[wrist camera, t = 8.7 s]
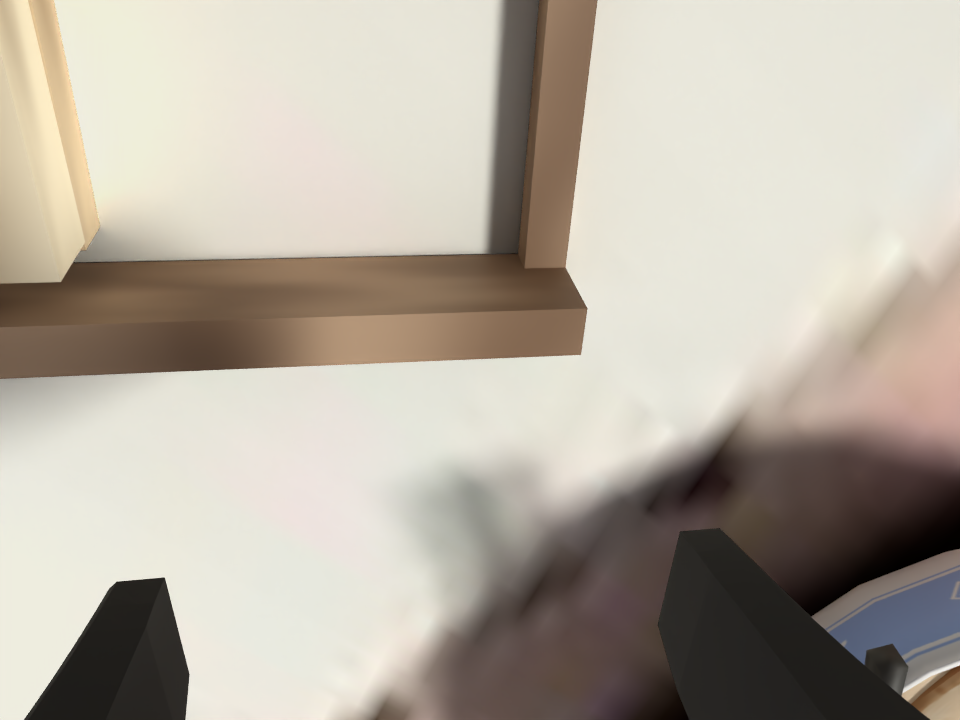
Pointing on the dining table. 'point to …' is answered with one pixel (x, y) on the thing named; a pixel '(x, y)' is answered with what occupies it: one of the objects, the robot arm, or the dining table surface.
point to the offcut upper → (31, 162)
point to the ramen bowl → (907, 631)
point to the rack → (337, 279)
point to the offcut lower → (65, 112)
